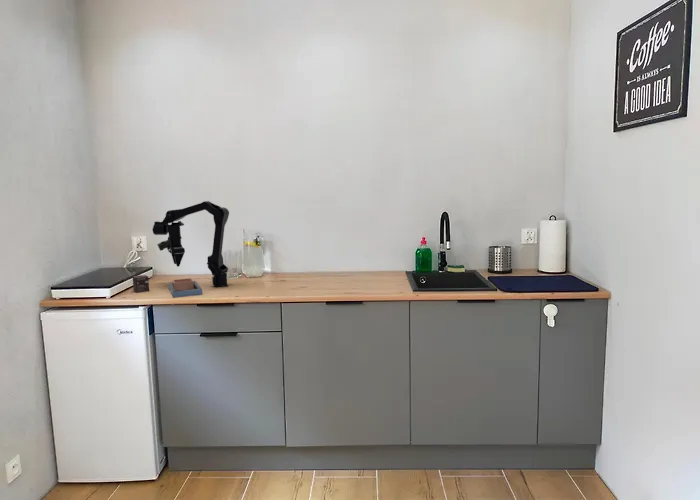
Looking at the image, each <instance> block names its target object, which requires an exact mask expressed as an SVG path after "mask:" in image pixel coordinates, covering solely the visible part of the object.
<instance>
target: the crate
mask: <svg viewBox="0 0 700 500" xmlns="http://www.w3.org/2000/svg"><path fill="white" fill-rule="evenodd" d="M171 281H172V285H173V287H174V288H175V290H176V291H183V290H193V289H194V283H193V281H194V280H193V278H190V277H189V278H179V279H172V280H171Z"/></svg>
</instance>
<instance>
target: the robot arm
mask: <svg viewBox="0 0 700 500" xmlns="http://www.w3.org/2000/svg"><path fill="white" fill-rule="evenodd" d="M203 211H206V212H208V213H209V214H210V215H212V216H213V217H212V218H213V222H214V233H213V234H214V235H213V243H212V252H211V254H210V255H208V256H207V262H206V265H207V268H208V269H209V271H210V273H211V275H212V277H211V281H212V282H211V284H212V285H213V287H215V288H218V287H228V286H229V284H228V276H227V274H228V271H229V268H228V266H226V265H225V264H224V257H223V244H224V234H225V226H226V224H227V222H228V219H229V216H230V211H229V209H228V208H227V207H222V206H220V205H217V204H215V203H213V202H212V201H209V200H206V201H205V200H204V201H202V202H200V203H197V204H194V205H190V206H187V207H184V208H179V209H171V210H170V209H169V210H167V211H166V213H165V217H164V218H163V220H162V221H159V220H158V221H157V220H156V221H154V224H153V225H152V233H153V235H155V236H159V235H160V236H166V235H168V237H167V239H166V240H162V241H161V242H159V243H157V248H158V249H159V251H163V250H165V249H166V250H167V252H169V253H170V255H171V257H172V261H173V264H174V265H176V267H180V265H181V263H182V261H183V259H184V258H183V257H184V255H185V253H186V249H185V248H184V247H183V244H182V239H183V238H182V235H181V234H182V233H181V227H182V226H185V223H184V222H182V221H181V220H182V219H184V218H185V217H186V216H189V215H192V214H196V213H199V212H203Z"/></svg>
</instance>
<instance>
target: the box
mask: <svg viewBox="0 0 700 500" xmlns="http://www.w3.org/2000/svg"><path fill="white" fill-rule="evenodd" d="M132 288H133V289H132V290H133V291H134V292H135V293H144V292H150V281H149V275H145V274H141V275H133V276H132Z"/></svg>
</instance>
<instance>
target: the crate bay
mask: <svg viewBox="0 0 700 500" xmlns="http://www.w3.org/2000/svg"><path fill="white" fill-rule="evenodd" d="M193 283H194V289H189V290H179V291H176V290H175V288H174V287H173V283H171V282H168V283H167V287H168V291H169V292H170V294H171V296H172V298H181V297H182V298H183V297H190V296H192V297H193V296H200V295H201V296H202V295H203V288H202V286H200V285H199V283H197V281H196V280H193Z"/></svg>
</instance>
